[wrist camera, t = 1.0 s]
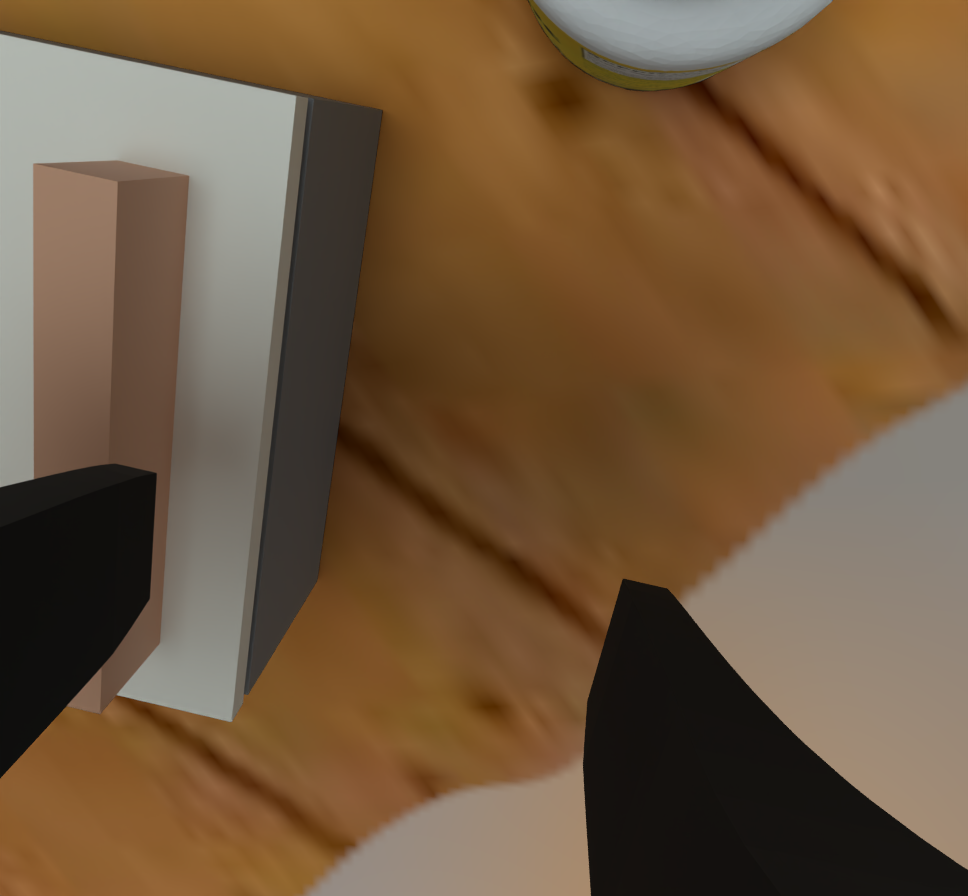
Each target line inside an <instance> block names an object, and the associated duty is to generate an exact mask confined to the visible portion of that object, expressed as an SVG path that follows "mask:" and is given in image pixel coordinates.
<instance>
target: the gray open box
mask: <svg viewBox="0 0 968 896" xmlns="http://www.w3.org/2000/svg"><path fill="white" fill-rule="evenodd" d="M0 34H4V35H8V36H13V37H18V38H23V39H28V40H32V41H37V42H42V43H47V44H52V45H56V46H61V47H66V48H71V49H76V50H80V51H85V52H90V53H95V54H100V55H104V56H109V57H114V58H119V59H124V60H128V61H133V62H138V63H143V64H148V65H152V66H157V67H162V68H167V69H172V70H176V71H181V72H186V73H191V74H196V75H200V76H205V77H210V78H215V79H220V80H224V81H229V82H234V83H239V84H244V85H248V86H253V87H258V88H263V89H268V90H272V91H277V92H282V93H287V94H292V95H296V96H301V97H306V98H308V105H307V114H306V123H305V133H304V142H303V151H302V160H301V170H300V179H299V188H298V197H297V207H296V216H295V225H294V234H293V244H292V253H291V262H290V271H289V280H288V290H287V299H286V308H285V317H284V327H283V336H282V345H281V354H280V364H279V373H278V382H277V391H276V400H275V410H274V419H273V428H272V437H271V447H270V456H269V465H268V474H267V484H266V493H265V502H264V511H263V520H262V530H261V539H260V548H259V557H258V567H257V576H256V585H255V594H254V604H253V613H252V622H251V631H250V641H249V650H248V659H247V668H246V677H245V687H244V694H246V695H248V694H249V692H250V691H251V689H252V688H253V686H254V684H255V683H256V681H257V679H258V678H259V676H260V674H261V673H262V671H263V669H264V668H265V666H266V664H267V663H268V661H269V659H270V658H271V656H272V655H273V653H274V651H275V650H276V648H277V646H278V645H279V643H280V641H281V640H282V638H283V636H284V635H285V633H286V631H287V630H288V628H289V627H290V625H291V623H292V622H293V620H294V618H295V617H296V615H297V613H298V612H299V610H300V608H301V607H302V605H303V603H304V602H305V600H306V599H307V597H308V595H309V594H310V592H311V590H312V589H313V587H314V585H315V584H316V582H317V579H318V572H319V565H320V557H321V550H322V543H323V536H324V529H325V521H326V514H327V507H328V500H329V492H330V485H331V478H332V471H333V464H334V456H335V449H336V442H337V435H338V428H339V420H340V413H341V406H342V399H343V392H344V384H345V377H346V370H347V363H348V356H349V348H350V341H351V334H352V327H353V320H354V312H355V305H356V298H357V291H358V283H359V276H360V269H361V262H362V255H363V247H364V240H365V233H366V226H367V219H368V211H369V204H370V197H371V190H372V183H373V175H374V168H375V161H376V154H377V147H378V139H379V132H380V125H381V118H382V110H380V109H375V108H370V107H365V106H360V105H356V104H351V103H346V102H341V101H336V100H332V99H327V98H322V97H317V96H312V95H308V94H303V93H298V92H293V91H288V90H284V89H279V88H274V87H269V86H264V85H260V84H255V83H250V82H245V81H240V80H236V79H231V78H226V77H221V76H216V75H212V74H207V73H202V72H197V71H192V70H187V69H183V68H178V67H173V66H168V65H163V64H159V63H154V62H149V61H144V60H139V59H135V58H130V57H125V56H120V55H115V54H111V53H106V52H101V51H96V50H91V49H87V48H82V47H77V46H72V45H67V44H63V43H58V42H53V41H48V40H43V39H39V38H34V37H29V36H24V35H19V34H15V33H10V32H5V31H0Z"/></svg>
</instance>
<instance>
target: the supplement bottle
mask: <svg viewBox="0 0 968 896" xmlns="http://www.w3.org/2000/svg"><path fill="white" fill-rule="evenodd" d="M832 1H833V0H528V2H529V4H530V6H531V9H532V11H533V13H534V15H535V17H536V19H537V21H538V22H539V24H540V26H541V28H542V29H543V31H544V33H545V34H546V35H547V37H548V38H549V39H550V40H551V42H552V43H553V45H554V46H555V47H556V48H557V49H558V50H559V51H560V52H561V54H562V55H563V56H564V57H566V58H567V59H568V60H569V61H570V62H571V63H572V64H574V65H575V66H576V67H578V68H579V69H580V70H582V71H583V72H585V73H586V74H588V75H590V76H592V77H594V78H596V79H598V80H600V81H602V82H605V83H608V84H611V85H613V86H617V87H621V88H624V89H627V90H636V91H659V90H668V89H675V88H679V87H684V86H688V85H691V84H694V83H698V82H701V81H703V80H705V79H707V78H710V77H712V76H713V75H715V74H717V73H719V72H721V71H723V70H725V69H727V68H729V67H731V66H733V65H735V64H737V63H739V62H741V61H743V60H745V59H747V58H748V57H750V56H753V55H755V54H757V53H759V52H761V51H763V50H765V49H767V48H769V47H771V46H772V45H774V44H776V43H778V42H779V41H781V40H783V39H784V38H786V37H788V36H789V35H791V34H793V33H794V32H796V31H797V30H798V29H800V28H801V27H803V26H804V25H805V24H806V23H807V22H809V21H810V20H811V19H812V18H813V17H815V16H816V15H817V14H818V13H819V12H820V11H822V10H823V9H824V8H825V7H826V6H827V5H829V4H830V3H831V2H832Z"/></svg>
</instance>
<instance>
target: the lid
mask: <svg viewBox="0 0 968 896" xmlns="http://www.w3.org/2000/svg"><path fill="white" fill-rule="evenodd" d="M307 105H308V98H306V97H301V96H296V95H292V94H287V93H282V92H277V91H272V90H268V89H263V88H258V87H253V86H248V85H244V84H239V83H234V82H229V81H224V80H220V79H215V78H210V77H205V76H200V75H196V74H191V73H186V72H181V71H176V70H172V69H167V68H162V67H157V66H152V65H148V64H143V63H138V62H133V61H128V60H124V59H119V58H114V57H109V56H104V55H100V54H95V53H90V52H85V51H80V50H76V49H71V48H66V47H61V46H56V45H52V44H47V43H42V42H37V41H32V40H28V39H23V38H18V37H13V36H8V35H4V34H0V487H3V486H7V485H11V484H16V483H20V482H24V481H28V480H32V479H36V478H41V477H45V476H49V475H53V474H58V473H62V472H66V471H71V470H76V469H80V468H86V467H91V466H97V465H105V464H120V465H124V466H129V467H133V468H138V469H142V470H146V471H151V472H155V473H157V483H156V501H155V518H154V536H153V554H152V572H151V590H150V600H149V601H148V603H147V604H146V606H145V607H144V609H143V610H142V612H141V614H140V615H139V617H138V618H137V620H136V621H135V623H134V624H133V626H132V627H131V629H130V630H129V632H128V633H127V635H126V636H125V638H124V639H123V640H122V642H121V643H120V645H119V646H118V648H117V649H116V650H115V652H114V653H113V655H112V656H111V657H110V658H109V659H108V660H107V662H106V663H105V664H104V665H103V666H102V667H101V668H100V670H99V671H98V672H97V673H96V674H95V675H94V676H93V677H92V678H91V680H90V681H89V682H88V683H87V684H86V685H85V686H84V687H83V688H82V690H81V691H80V692H79V693H78V694H77V695H76V696H75V697H74V698H73V700H72V701H71V702H70V703H69V704H68V705H67V706H68V707H73V708H77V709H81V710H85V711H89V712H94V713H98V714H101V712H102V711H103V710H104V709H105V708H106V707H107V705H108V704H109V703H110V702H111V701H112V699H113V698H114V697H115V696H116V695H119V696H123V697H128V698H132V699H136V700H140V701H144V702H149V703H153V704H157V705H161V706H166V707H170V708H174V709H178V710H182V711H187V712H191V713H195V714H199V715H203V716H208V717H212V718H216V719H220V720H225V721H229V722H232V720H233V719H234V717H235V716H236V714H237V712H238V711H239V709H240V707H241V706H242V704H243V696H244V687H245V677H246V668H247V659H248V650H249V641H250V631H251V622H252V613H253V604H254V594H255V585H256V576H257V567H258V557H259V548H260V539H261V530H262V520H263V511H264V502H265V493H266V484H267V474H268V465H269V456H270V447H271V437H272V428H273V419H274V410H275V400H276V391H277V382H278V373H279V364H280V354H281V345H282V336H283V327H284V317H285V308H286V299H287V290H288V280H289V271H290V262H291V253H292V244H293V234H294V225H295V216H296V207H297V197H298V188H299V179H300V170H301V160H302V151H303V142H304V133H305V123H306V114H307Z"/></svg>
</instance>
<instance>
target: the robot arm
mask: <svg viewBox="0 0 968 896" xmlns="http://www.w3.org/2000/svg"><path fill="white" fill-rule="evenodd" d="M156 483H157V473H155V472H151V471H146V470H142V469H138V468H133V467H129V466H124V465H120V464H105V465H97V466H91V467H86V468H80V469H76V470H71V471H66V472H62V473H58V474H53V475H49V476H45V477H41V478H36V479H32V480H28V481H24V482H20V483H16V484H11V485H7V486H3V487H0V778H1V777H2V776H3V775H4V774H5V773H6V771H7V770H8V769H9V768H10V767H11V766H12V765H13V764H14V763H15V762H16V761H17V759H18V758H19V757H20V756H21V755H22V754H23V753H24V752H25V751H26V750H27V749H28V747H29V746H30V745H31V744H32V743H33V742H34V741H35V740H36V739H37V738H38V737H39V736H40V734H41V733H42V732H43V731H44V730H45V729H46V728H47V727H48V726H49V725H50V724H51V722H52V721H53V720H54V719H55V718H56V717H57V716H58V715H59V714H60V713H61V712H62V710H63V709H64V708H65V707H66V706H67V705H68V704H69V703H70V702H71V701H72V700H73V698H74V697H75V696H76V695H77V694H78V693H79V692H80V691H81V690H82V688H83V687H84V686H85V685H86V684H87V683H88V682H89V681H90V680H91V678H92V677H93V676H94V675H95V674H96V673H97V672H98V671H99V670H100V668H101V667H102V666H103V665H104V664H105V663H106V662H107V660H108V659H109V658H110V657H111V656H112V655H113V653H114V652H115V650H116V649H117V648H118V646H119V645H120V643H121V642H122V640H123V639H124V638H125V636H126V635H127V633H128V632H129V630H130V629H131V627H132V626H133V624H134V623H135V621H136V620H137V618H138V617H139V615H140V614H141V612H142V610H143V609H144V607H145V606H146V604H147V603H148V601H149V600H150V590H151V572H152V554H153V536H154V518H155V501H156ZM583 773H584V791H585V808H586V825H587V839H588V856H589V870H590V887H591V896H968V870H967V869H965V868H964V867H962V866H961V865H959V864H958V863H956V862H955V861H954V860H952V859H951V858H949V857H948V856H946V855H945V854H943V853H942V852H940V851H939V850H937V849H936V848H935V847H933V846H932V845H930V844H929V843H927V842H926V841H924V840H923V839H922V838H920V837H919V836H918V835H916V834H915V833H914V832H912V831H911V830H910V829H908V828H907V827H906V826H904V825H903V824H902V823H900V822H899V821H898V820H896V819H895V818H894V817H892V816H891V815H890V814H888V813H887V812H886V811H884V810H883V809H882V808H880V807H879V806H878V805H876V804H875V803H874V802H872V801H871V800H869V798H867V797H866V796H865V795H863V794H862V793H861V792H860V791H858V790H857V789H856V788H855V787H854V786H852V785H851V784H850V783H849V782H848V781H846V780H845V779H844V778H843V777H842V776H840V775H839V774H838V773H837V772H836V771H835V770H834V769H833V768H831V767H830V766H829V765H828V764H827V763H826V762H825V761H824V760H822V759H821V758H820V757H819V756H818V755H817V754H816V753H814V752H813V751H812V750H811V749H810V748H809V747H808V746H807V745H805V744H804V743H803V742H802V741H801V740H800V739H799V738H798V737H797V736H796V735H795V734H794V733H793V732H792V731H791V730H790V729H789V728H788V727H787V726H786V725H785V724H784V723H783V722H782V721H781V720H780V719H779V718H778V717H777V716H776V715H775V714H774V713H773V712H772V711H771V710H770V709H769V707H768V706H767V705H766V704H765V703H764V702H763V701H762V700H761V699H760V698H759V697H758V696H757V695H756V694H755V693H754V692H753V691H752V689H751V688H750V687H749V686H748V685H747V684H746V683H745V682H744V681H743V679H742V678H741V677H740V676H739V675H738V674H737V673H736V671H735V670H734V669H733V668H732V667H731V666H730V664H729V663H728V662H727V661H726V660H725V658H724V657H723V656H722V655H721V654H720V652H719V651H718V650H717V649H716V647H715V646H714V645H713V644H712V643H711V641H710V640H709V639H708V638H707V637H706V635H705V634H704V633H703V631H702V630H701V629H700V628H699V626H698V625H697V624H696V623H695V621H694V620H693V619H692V618H691V616H690V615H689V614H688V612H687V611H686V610H685V609H684V607H683V606H682V605H681V604H680V603H679V601H678V600H677V599H676V598H675V597H674V595H673V594H672V593H671V592H670V591H669V590H668V589H667V588H662V587H658V586H653V585H649V584H645V583H640V582H636V581H631V580H627V579H623V580H622V584H621V587H620V591H619V594H618V597H617V601H616V604H615V608H614V611H613V615H612V618H611V622H610V625H609V629H608V632H607V635H606V639H605V642H604V646H603V649H602V653H601V656H600V660H599V663H598V666H597V670H596V673H595V677H594V680H593V684H592V687H591V691H590V694H589V697H588V701H587V714H586V727H585V742H584V758H583Z"/></svg>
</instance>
